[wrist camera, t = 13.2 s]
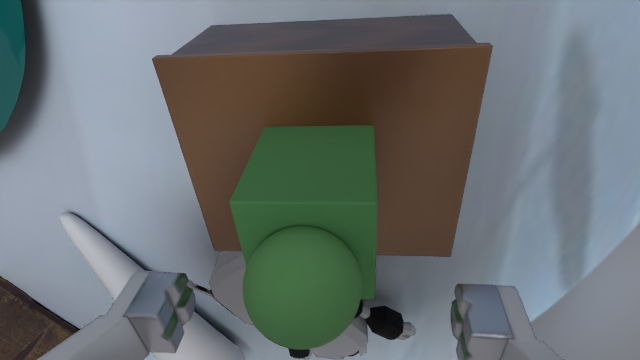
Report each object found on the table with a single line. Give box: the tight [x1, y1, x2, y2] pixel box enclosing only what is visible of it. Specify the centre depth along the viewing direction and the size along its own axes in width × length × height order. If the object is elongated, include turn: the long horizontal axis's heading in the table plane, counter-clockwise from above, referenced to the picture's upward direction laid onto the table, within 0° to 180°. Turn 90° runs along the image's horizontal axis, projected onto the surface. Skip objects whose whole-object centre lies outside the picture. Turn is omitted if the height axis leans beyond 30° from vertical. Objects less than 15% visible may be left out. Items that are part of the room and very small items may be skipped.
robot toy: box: [187, 251, 416, 359], centre depth 28 cm, size 12×4×15 cm
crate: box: [152, 14, 493, 257], centre depth 19 cm, size 12×10×6 cm
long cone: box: [60, 213, 246, 360], centre depth 31 cm, size 6×6×19 cm
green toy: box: [229, 125, 378, 350], centre depth 13 cm, size 4×4×8 cm
